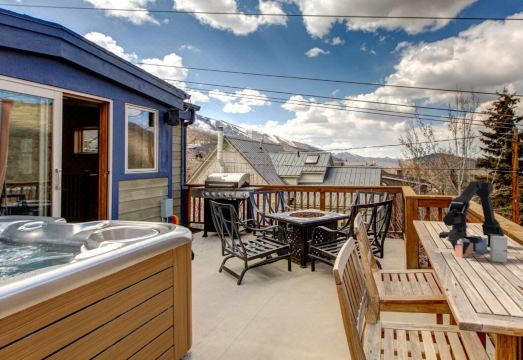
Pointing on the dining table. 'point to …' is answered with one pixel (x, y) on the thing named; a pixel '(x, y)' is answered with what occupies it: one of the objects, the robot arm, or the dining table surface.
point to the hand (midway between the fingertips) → (459, 253)
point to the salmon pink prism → (460, 250)
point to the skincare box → (498, 248)
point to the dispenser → (479, 246)
